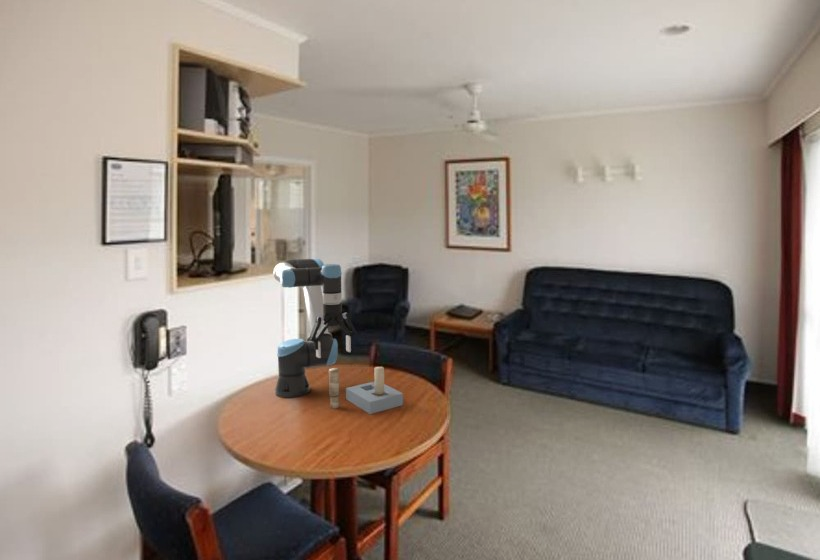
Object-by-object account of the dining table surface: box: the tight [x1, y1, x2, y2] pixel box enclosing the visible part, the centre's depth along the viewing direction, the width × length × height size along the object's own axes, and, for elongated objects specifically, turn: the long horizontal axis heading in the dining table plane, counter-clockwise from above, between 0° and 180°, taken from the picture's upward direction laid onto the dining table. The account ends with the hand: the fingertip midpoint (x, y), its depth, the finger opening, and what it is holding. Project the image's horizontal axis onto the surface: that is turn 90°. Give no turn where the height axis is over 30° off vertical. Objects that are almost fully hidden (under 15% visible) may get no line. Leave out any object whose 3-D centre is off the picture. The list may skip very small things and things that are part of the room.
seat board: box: [345, 366, 404, 415], centre depth 203 cm, size 20×16×16 cm
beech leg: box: [328, 367, 340, 410], centre depth 198 cm, size 4×4×16 cm
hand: (333, 354), depth 196 cm, fingers open, 13 cm apart
